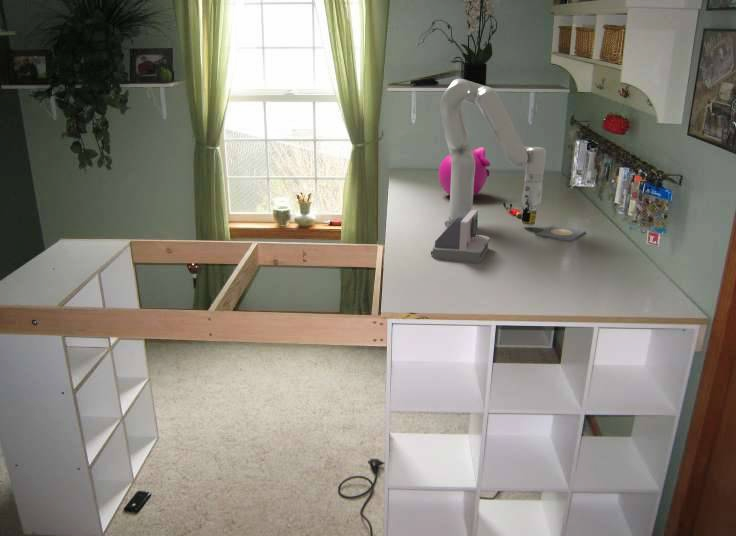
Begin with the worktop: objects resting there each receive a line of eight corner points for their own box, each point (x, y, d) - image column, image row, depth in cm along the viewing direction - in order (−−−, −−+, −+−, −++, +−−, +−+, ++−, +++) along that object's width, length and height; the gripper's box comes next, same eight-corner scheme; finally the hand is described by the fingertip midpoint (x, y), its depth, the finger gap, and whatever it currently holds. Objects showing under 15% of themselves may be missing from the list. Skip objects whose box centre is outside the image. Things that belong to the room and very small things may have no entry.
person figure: (512, 199, 307) (524, 209, 290) (514, 207, 308) (526, 217, 291) (502, 203, 307) (513, 213, 290) (504, 211, 308) (515, 221, 291)
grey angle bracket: (476, 266, 232) (478, 225, 227) (423, 256, 242) (424, 217, 237) (496, 250, 250) (499, 212, 244) (446, 241, 259) (447, 204, 254)
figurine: (496, 198, 326) (499, 148, 317) (459, 205, 313) (462, 152, 305) (464, 189, 344) (466, 141, 336) (428, 195, 331) (430, 145, 323)
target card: (571, 241, 259) (571, 239, 259) (537, 235, 267) (537, 233, 267) (585, 232, 271) (585, 230, 271) (553, 226, 279) (553, 224, 279)
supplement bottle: (532, 226, 273) (534, 204, 270) (519, 224, 276) (522, 201, 272) (536, 224, 277) (539, 201, 274) (524, 221, 280) (526, 199, 277)
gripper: (533, 182, 261) (528, 226, 267) (550, 175, 274) (545, 217, 280) (516, 179, 265) (511, 222, 271) (533, 173, 278) (528, 214, 284)
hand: (528, 219), depth 276 cm, fingers closed on supplement bottle, 5 cm apart
